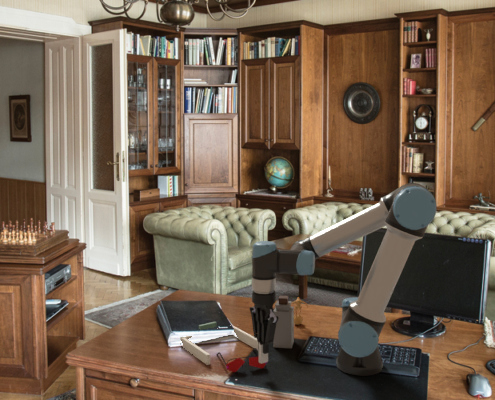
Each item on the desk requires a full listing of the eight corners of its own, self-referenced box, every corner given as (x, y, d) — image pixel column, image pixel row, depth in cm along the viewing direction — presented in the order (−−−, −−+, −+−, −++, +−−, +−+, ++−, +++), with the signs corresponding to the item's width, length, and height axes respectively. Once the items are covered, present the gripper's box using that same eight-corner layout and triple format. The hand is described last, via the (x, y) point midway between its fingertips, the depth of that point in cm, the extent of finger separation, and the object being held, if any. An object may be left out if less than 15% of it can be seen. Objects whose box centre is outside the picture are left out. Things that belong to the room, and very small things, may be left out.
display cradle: (261, 350, 200) (261, 332, 199) (207, 365, 188) (206, 346, 187) (232, 333, 217) (232, 317, 216) (180, 346, 205) (180, 329, 204)
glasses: (226, 375, 181) (226, 360, 180) (216, 355, 197) (215, 342, 196) (267, 369, 184) (267, 355, 184) (254, 351, 200) (253, 337, 200)
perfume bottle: (291, 348, 201) (291, 300, 199) (273, 347, 203) (272, 299, 200) (293, 341, 208) (293, 294, 206) (276, 340, 209) (275, 294, 207)
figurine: (307, 322, 228) (307, 294, 227) (309, 327, 222) (309, 298, 221) (287, 323, 228) (286, 294, 227) (288, 328, 222) (288, 299, 221)
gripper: (285, 293, 172) (284, 366, 175) (261, 283, 183) (261, 352, 186) (266, 297, 168) (265, 372, 171) (242, 287, 179) (242, 357, 182)
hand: (263, 361), depth 178 cm, fingers closed
